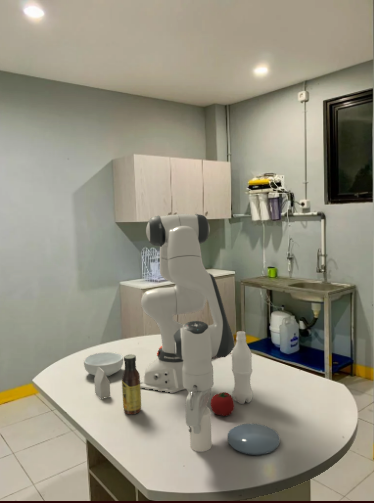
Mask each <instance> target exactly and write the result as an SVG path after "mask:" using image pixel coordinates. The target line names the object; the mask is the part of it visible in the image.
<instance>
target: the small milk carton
mask: <svg viewBox="0 0 374 503" xmlns="http://www.w3.org/2000/svg"><path fill="white" fill-rule="evenodd" d="M93 380H94V394H95V393H96V394H97V395H98V396H99V397H100V398H101V399H100V398H99V397H98V396H97V395H96V394H95V395H96V396H97V397H98V398H99V399H100V400H103V399H102V398H104V397H108V396H111V385H110V383H111V382H110V379H109V378H108V376H106V374H105V372H104V371H103V370H102V369H101V368H100V367H98V370H97V373H96V375H94V378H93ZM108 398H109V397H108Z"/></svg>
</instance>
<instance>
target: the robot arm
mask: <svg viewBox="0 0 374 503" xmlns="http://www.w3.org/2000/svg"><path fill="white" fill-rule="evenodd" d="M210 227H211V226H210V224H209V220H208V218H207V217H206V216H205V215H203V214H198V213H195V214H189V213H177V214H168V215H161V216H160V215H157V216H156V215H155V216H153V217H151V218H149V219H148V222H147V225H146V228H145V233H146V237H147V240H148V241H149V242H148V243H150V244H151V245H152V246H155V247H159V273H160V275H161V277H162V278H163V279H164V280H166V281H168V282H170V283H172V284H174V286H171V287H158V288H157V287H156V288H153V289H149V290H146V291H145V292H144V293H143V295H142V296H141V299H140V300H141V301H140V305H141V309H142V311H143V313H145V314H146V315H147V316H149V317H150V318H151V319H152V320H153V321H155V323H156V324H157V327H158V328H159V330H160V331H159V332H160V337H161V345H160V346H159V348H158V350H157V352H156V356H157V358H156V359H154V360H153V361H151V363H149V364H148V365H147V367H146V368H145V372H144V375H143V376H142V377H141V378H140V388H141V389H142V388H145V389H144V390H149V389H153V390H152V391H155V390H158V391H157V392H162V391H165V392H164V393H168V392H170V394H174V393H177V392H179V391H183V390H187V392H188V394H187V396H186V400H185V424H186V426H187V427H189V426H193V430H194V433H195V434H199V433H200V431H201V425H200V422H201V419H202V417H203V414H204V411H205V408H206V407H207V405H208V402H209V398H210V397H211V392H212V388H213V386H214V366H213V363H212V362H213V361H212V358H226V357H227V356H229V355H230V354H231V353H232V351H233V349H234V347H235V338H234V335H233V331H232V329H231V327H230V323H229V321H228V318H227V314H226V311H225V310H226V309H225V307H224V303H223V300H222V297H221V293H220V291H219V290H220V289H219V287H218V284H217V281H216V279H215V277H214V275H213V274H212V273H210V272H209V271H208V270H207V269H206V268H205V266H204V263H203V258H202V251H201V245H200V244H204V243H205V242H206V241H207V240H208V239H209V235H210V229H211V228H210ZM206 303H207V304H208V307H209V308H208V309H209V311H210V316H211V318H212V321H213V323H212V324H207V322H204V321H199V320H192V321H188V322H186V323H184V324H183V323H181V322H179V321H177V320H175V319H174V316H177V315H189V314H194V313H197V312H201V311H203V310H204V308H205V307H206Z"/></svg>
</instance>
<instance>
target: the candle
mask: <svg viewBox="0 0 374 503" xmlns="http://www.w3.org/2000/svg"><path fill="white" fill-rule="evenodd" d="M211 416H212V415H211V407H208V406H206V408H205V411H204V414H203V417H202V419H201V422H200V425H201V431H200V433H199V434H195V433H194V430H193V426H188V432H189V447H190V449H192V451H195V452H199V453H200V452H207V451H209V450H211V448H212V445H213V444H212V443H213V442H212V418H211Z"/></svg>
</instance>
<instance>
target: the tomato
mask: <svg viewBox="0 0 374 503" xmlns="http://www.w3.org/2000/svg"><path fill="white" fill-rule="evenodd" d="M234 401H235V400H234V397H233V395H232V394H231V393H228V392H226V391H224V392H223V391H221V392H220V393H215V395H213V396H212V397H211V400H210V410H211V411H212V413H214V414H215V415H216V416H221V417H228V416H230V415H232V413H233V412H234V409H235V402H234Z"/></svg>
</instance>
